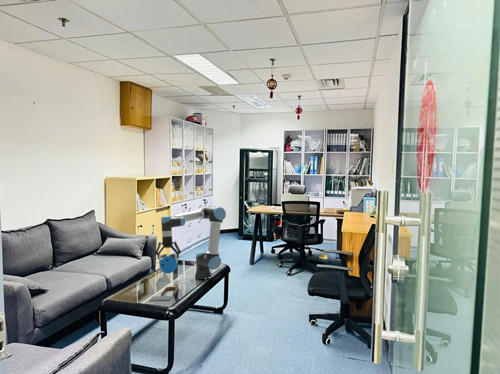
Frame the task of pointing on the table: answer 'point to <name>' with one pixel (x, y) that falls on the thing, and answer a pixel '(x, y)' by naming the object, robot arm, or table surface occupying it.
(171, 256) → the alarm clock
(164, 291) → the clock stand
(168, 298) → the rubber mat
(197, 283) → the table surface
